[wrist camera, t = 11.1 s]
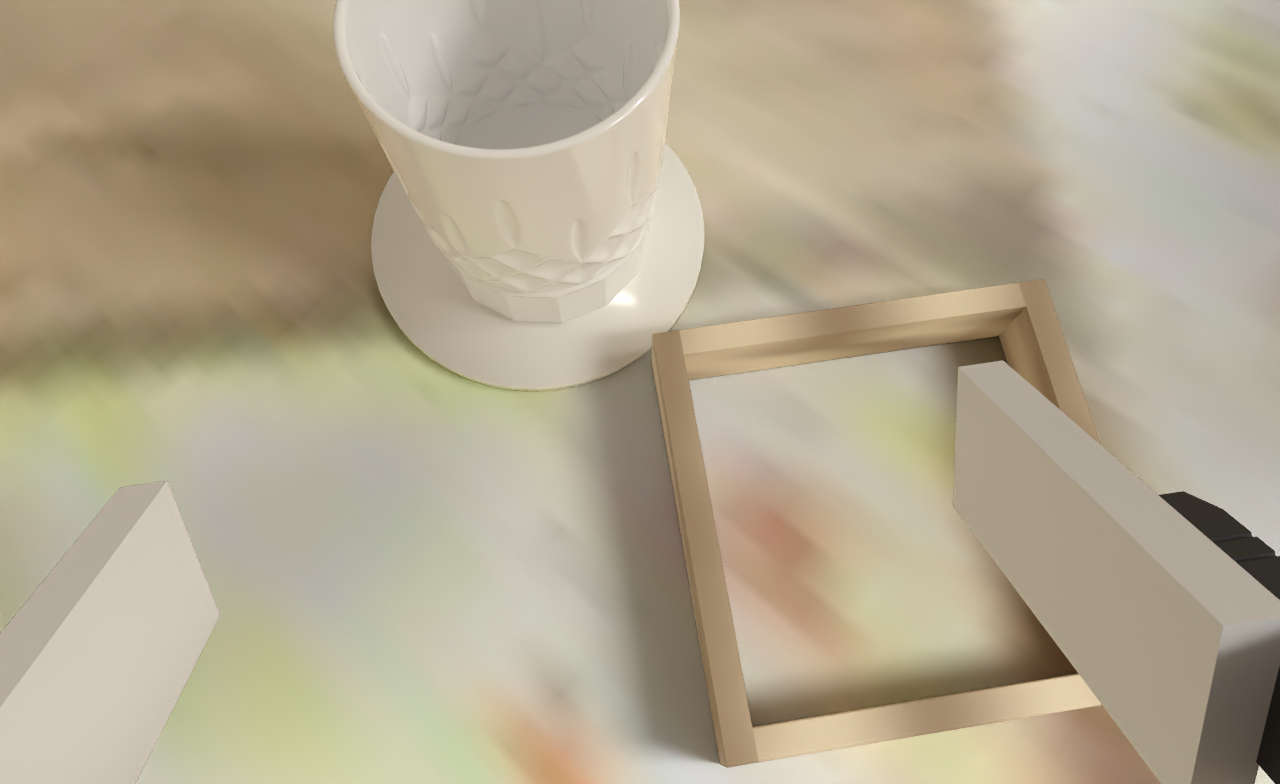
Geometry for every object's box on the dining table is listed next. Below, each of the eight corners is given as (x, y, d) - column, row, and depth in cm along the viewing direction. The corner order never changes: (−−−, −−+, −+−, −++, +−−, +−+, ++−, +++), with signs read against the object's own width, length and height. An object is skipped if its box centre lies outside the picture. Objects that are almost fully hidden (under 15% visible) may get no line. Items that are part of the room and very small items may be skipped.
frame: (1015, 310, 30) (1044, 279, 28) (1140, 693, 26) (1184, 691, 24) (651, 361, 29) (652, 333, 27) (720, 764, 25) (727, 767, 23)
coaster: (674, 83, 33) (674, 75, 32) (731, 365, 29) (732, 360, 29) (366, 121, 32) (362, 114, 32) (384, 414, 28) (380, 410, 28)
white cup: (382, 210, 30) (269, -20, 21) (576, 95, 32) (552, -166, 23) (513, 389, 28) (452, 221, 19) (714, 256, 30) (750, 41, 21)
